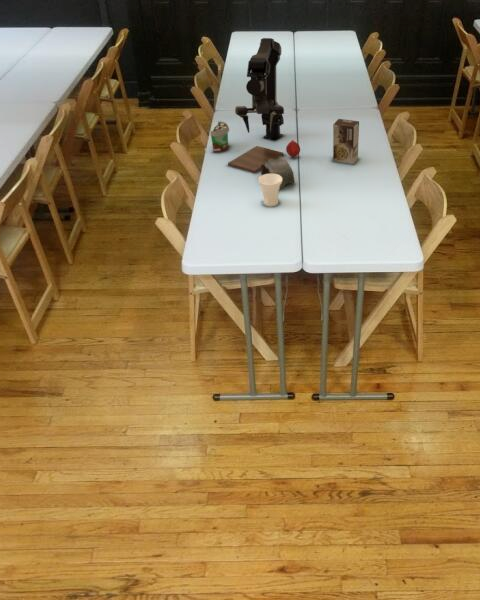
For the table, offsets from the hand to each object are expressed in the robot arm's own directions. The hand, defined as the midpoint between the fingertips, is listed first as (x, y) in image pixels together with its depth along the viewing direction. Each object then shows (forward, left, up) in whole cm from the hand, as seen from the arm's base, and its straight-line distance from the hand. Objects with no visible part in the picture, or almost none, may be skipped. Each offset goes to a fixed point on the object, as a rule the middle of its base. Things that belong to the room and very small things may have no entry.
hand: (259, 132), depth 253 cm
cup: (+26, +24, -13) cm, 38 cm away
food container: (-3, -23, -13) cm, 27 cm away
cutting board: (-1, -3, -13) cm, 14 cm away
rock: (+11, +16, -13) cm, 24 cm away
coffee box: (-20, +29, -13) cm, 37 cm away
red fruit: (-11, +9, -13) cm, 19 cm away
